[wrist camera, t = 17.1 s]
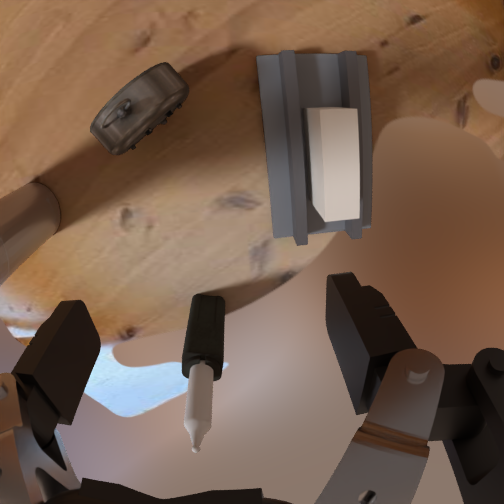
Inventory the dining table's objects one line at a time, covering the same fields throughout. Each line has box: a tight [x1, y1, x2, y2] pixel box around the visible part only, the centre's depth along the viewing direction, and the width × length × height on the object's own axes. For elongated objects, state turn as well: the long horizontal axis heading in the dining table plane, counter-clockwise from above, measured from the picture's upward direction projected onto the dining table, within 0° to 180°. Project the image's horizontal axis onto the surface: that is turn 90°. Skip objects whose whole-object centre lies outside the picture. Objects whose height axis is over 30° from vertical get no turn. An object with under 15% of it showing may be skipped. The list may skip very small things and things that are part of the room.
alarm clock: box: [90, 62, 189, 155], centre depth 28 cm, size 11×5×16 cm, turn 127°
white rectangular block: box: [303, 107, 360, 222], centre depth 34 cm, size 4×12×8 cm, turn 6°
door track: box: [256, 50, 372, 246], centre depth 37 cm, size 14×24×4 cm, turn 6°
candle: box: [182, 294, 225, 453], centre depth 38 cm, size 5×5×25 cm
